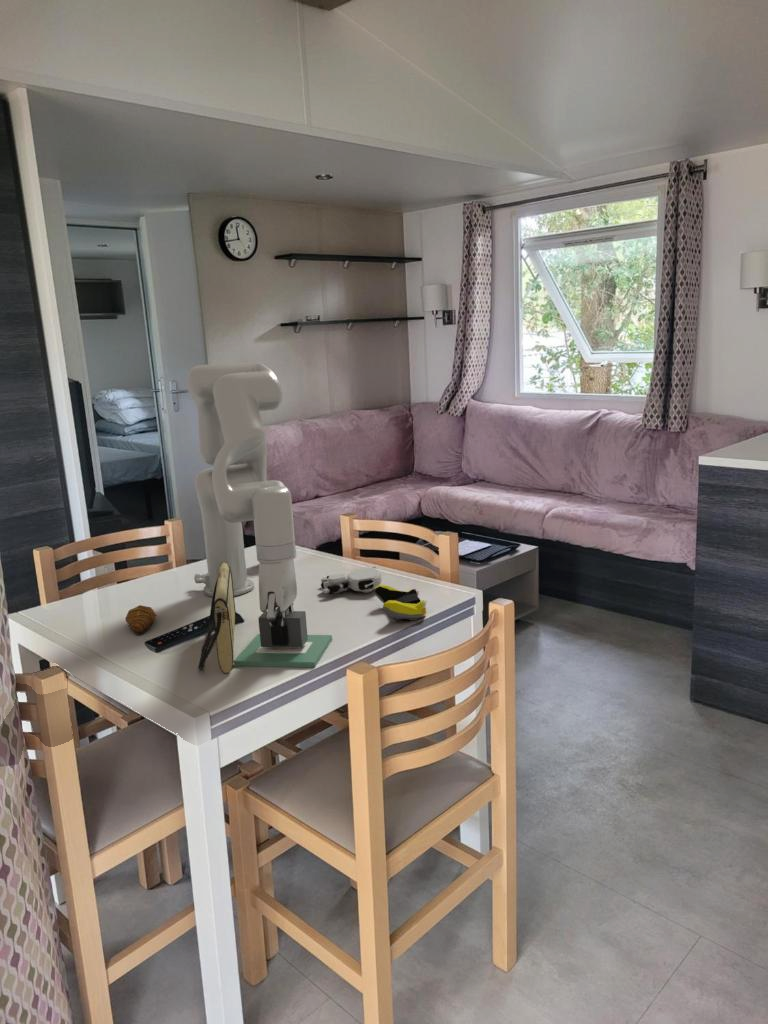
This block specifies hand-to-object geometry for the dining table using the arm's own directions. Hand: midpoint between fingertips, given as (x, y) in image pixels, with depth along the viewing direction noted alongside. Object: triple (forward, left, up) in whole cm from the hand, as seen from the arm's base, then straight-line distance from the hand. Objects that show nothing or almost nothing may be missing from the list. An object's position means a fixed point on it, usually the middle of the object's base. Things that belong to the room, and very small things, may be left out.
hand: (283, 639), depth 152 cm
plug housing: (0, 0, -1) cm, 1 cm away
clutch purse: (-14, +1, -3) cm, 15 cm away
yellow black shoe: (+20, +23, -3) cm, 31 cm away
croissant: (-38, +14, -3) cm, 40 cm away
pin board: (0, 0, -3) cm, 3 cm away
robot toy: (+5, +40, -3) cm, 41 cm away
